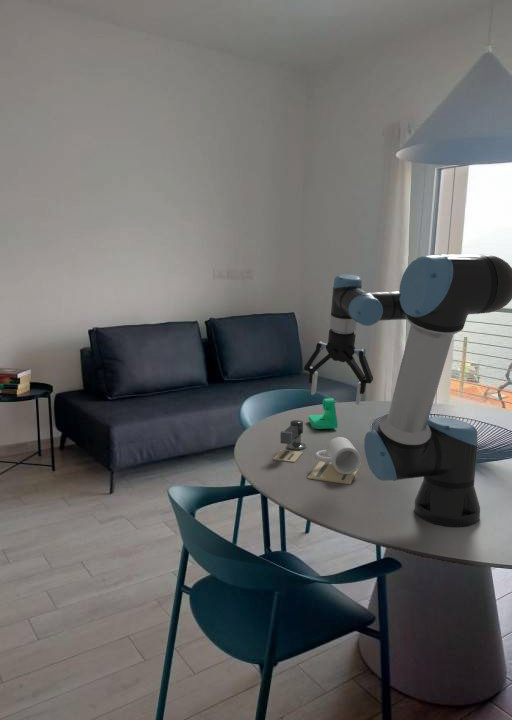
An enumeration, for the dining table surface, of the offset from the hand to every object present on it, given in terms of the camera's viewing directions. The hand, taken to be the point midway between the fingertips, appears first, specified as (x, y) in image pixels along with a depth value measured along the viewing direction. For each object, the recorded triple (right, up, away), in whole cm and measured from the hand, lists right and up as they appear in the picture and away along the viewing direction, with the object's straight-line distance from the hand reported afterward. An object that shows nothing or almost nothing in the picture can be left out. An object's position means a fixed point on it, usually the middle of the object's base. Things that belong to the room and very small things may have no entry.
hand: (335, 398), depth 172 cm
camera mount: (+1, -13, +39) cm, 41 cm away
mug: (0, -21, -3) cm, 21 cm away
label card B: (-1, -21, -4) cm, 21 cm away
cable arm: (-12, -13, +11) cm, 21 cm away
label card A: (-14, -19, +8) cm, 24 cm away
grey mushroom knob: (-10, -17, +17) cm, 26 cm away
